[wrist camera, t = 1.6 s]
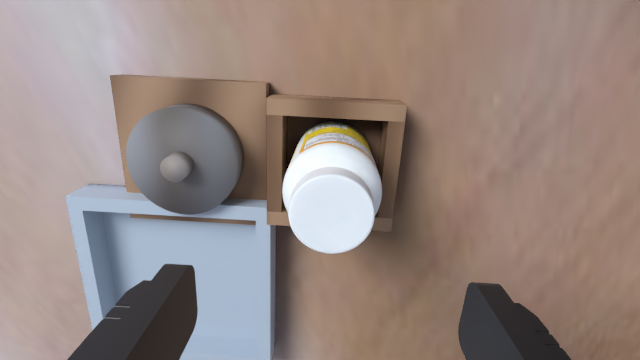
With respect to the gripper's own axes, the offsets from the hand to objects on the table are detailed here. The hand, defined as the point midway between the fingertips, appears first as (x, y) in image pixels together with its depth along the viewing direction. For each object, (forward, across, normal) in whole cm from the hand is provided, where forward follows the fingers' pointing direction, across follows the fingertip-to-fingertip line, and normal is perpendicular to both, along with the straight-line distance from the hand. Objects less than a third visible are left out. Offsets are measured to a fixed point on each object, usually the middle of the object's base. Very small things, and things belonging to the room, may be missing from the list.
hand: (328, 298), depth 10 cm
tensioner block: (+16, +5, 0) cm, 16 cm away
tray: (+16, +11, +10) cm, 22 cm away
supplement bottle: (+16, 0, 0) cm, 16 cm away
